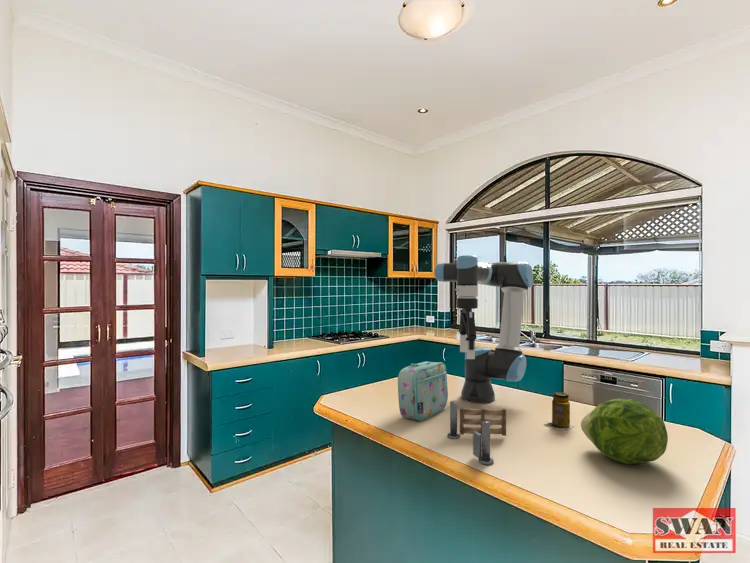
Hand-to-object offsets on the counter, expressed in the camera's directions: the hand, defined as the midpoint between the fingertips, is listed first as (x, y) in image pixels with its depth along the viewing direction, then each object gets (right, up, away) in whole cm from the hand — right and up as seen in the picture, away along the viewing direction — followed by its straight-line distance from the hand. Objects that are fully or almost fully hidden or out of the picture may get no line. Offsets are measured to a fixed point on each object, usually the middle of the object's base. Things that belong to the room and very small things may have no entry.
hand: (467, 355), depth 145 cm
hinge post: (-6, -27, -8) cm, 29 cm away
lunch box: (-14, -27, +16) cm, 35 cm away
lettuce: (+41, -27, -25) cm, 55 cm away
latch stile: (-1, -27, -27) cm, 38 cm away
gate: (+3, -26, -8) cm, 27 cm away
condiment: (+35, -27, +3) cm, 45 cm away
